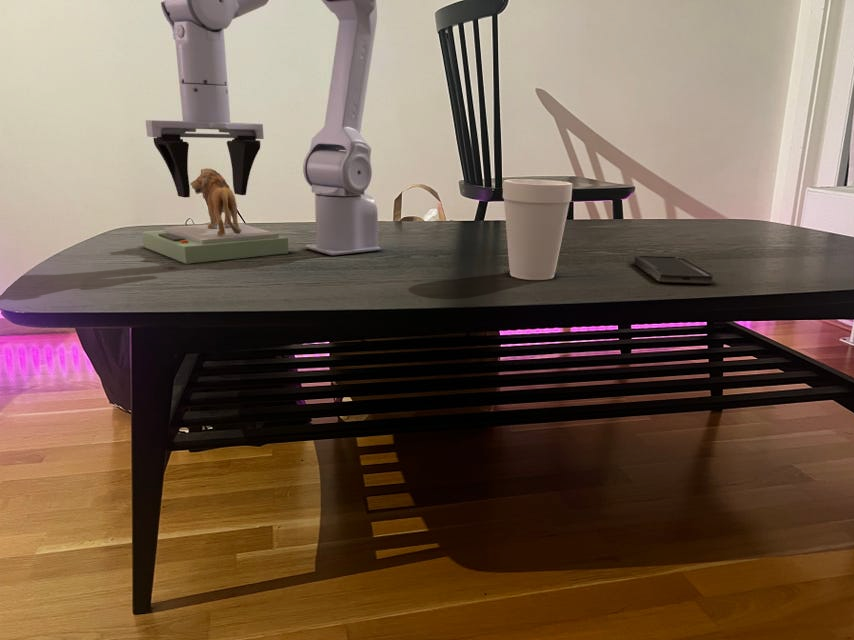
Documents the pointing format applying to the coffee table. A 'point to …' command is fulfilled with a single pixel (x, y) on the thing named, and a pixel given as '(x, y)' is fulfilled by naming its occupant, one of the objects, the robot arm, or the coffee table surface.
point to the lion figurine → (217, 200)
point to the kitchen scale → (214, 243)
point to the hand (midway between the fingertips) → (212, 195)
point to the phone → (673, 270)
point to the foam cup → (535, 225)
